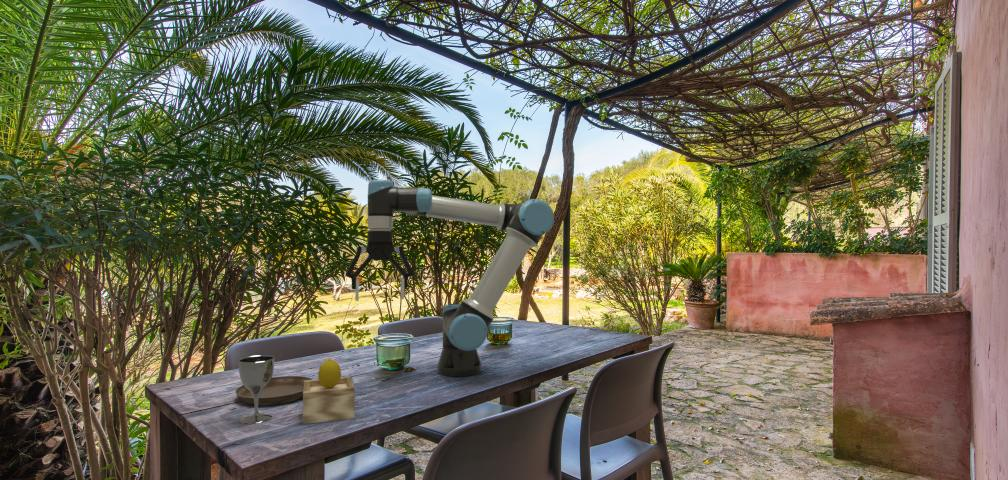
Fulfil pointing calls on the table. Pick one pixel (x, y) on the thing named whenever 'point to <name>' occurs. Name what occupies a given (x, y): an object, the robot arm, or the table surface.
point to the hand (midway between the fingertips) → (380, 299)
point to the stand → (328, 401)
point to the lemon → (329, 374)
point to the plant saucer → (276, 391)
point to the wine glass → (256, 381)
